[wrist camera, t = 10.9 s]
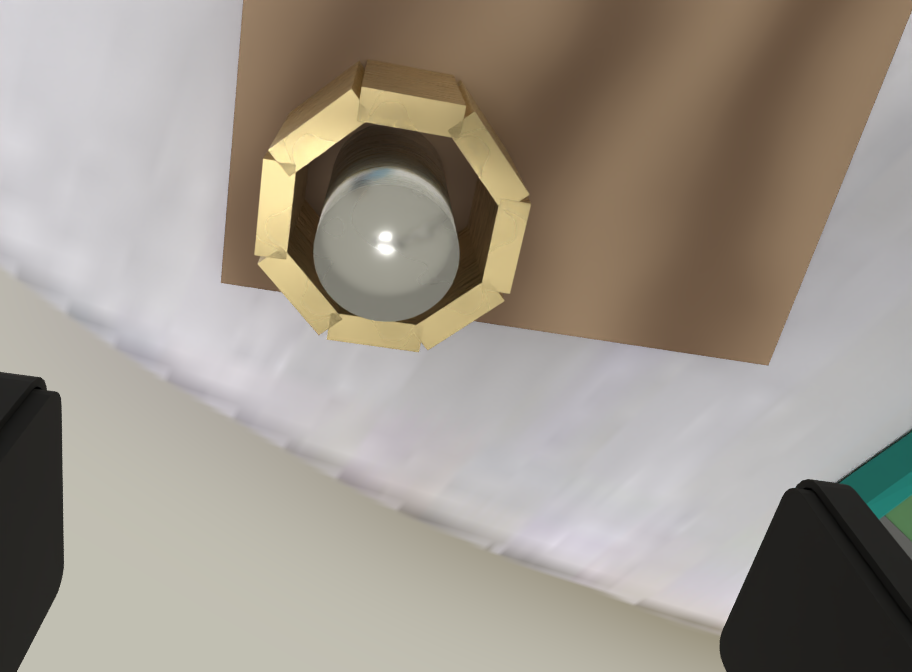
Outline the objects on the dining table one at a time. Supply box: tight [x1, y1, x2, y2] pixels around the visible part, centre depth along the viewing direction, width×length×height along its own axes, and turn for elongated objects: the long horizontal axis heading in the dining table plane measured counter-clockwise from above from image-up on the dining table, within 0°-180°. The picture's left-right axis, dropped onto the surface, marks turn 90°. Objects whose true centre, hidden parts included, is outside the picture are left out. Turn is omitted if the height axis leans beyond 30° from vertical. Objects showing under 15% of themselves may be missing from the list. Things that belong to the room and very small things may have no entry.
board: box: [221, 0, 912, 365], centre depth 27 cm, size 20×13×1 cm, turn 79°
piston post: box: [313, 124, 459, 322], centre depth 23 cm, size 4×4×7 cm
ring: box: [254, 59, 531, 352], centre depth 24 cm, size 7×7×5 cm
